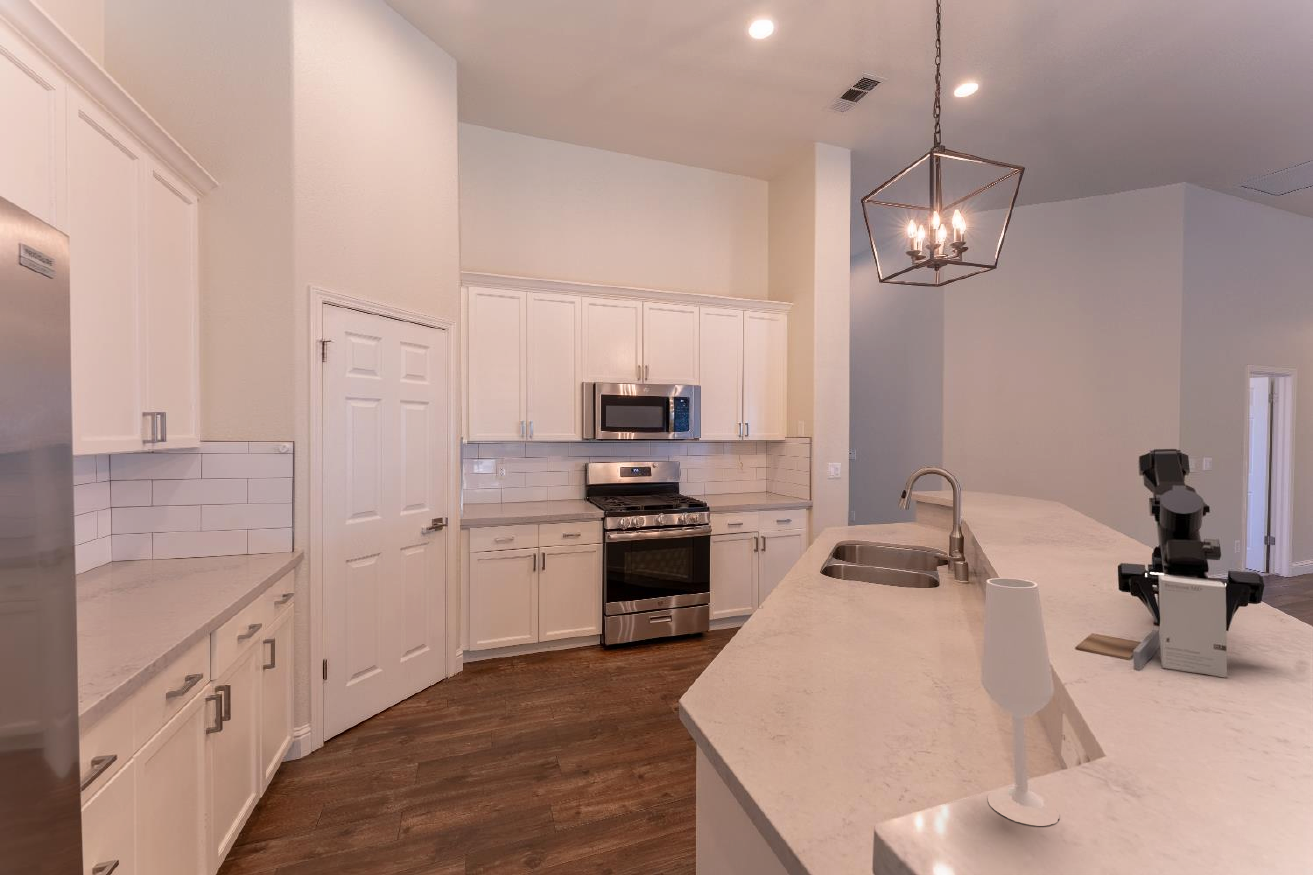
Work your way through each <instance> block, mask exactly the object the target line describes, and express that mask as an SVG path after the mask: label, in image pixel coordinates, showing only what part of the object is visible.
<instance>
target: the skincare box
mask: <svg viewBox="0 0 1313 875" xmlns="http://www.w3.org/2000/svg"><path fill="white" fill-rule="evenodd" d="M1158 577H1159V613H1160V625H1159V638H1160V647H1159V657H1160V658H1159V659H1160V662H1161V667H1162V668H1163V669H1168V670H1175V671H1181V672H1189V673H1194V674H1204V675H1209V676H1214V677H1219V678H1227V677H1228V664H1227V663H1228V661H1227V660H1228V659H1227V658H1228V656H1227V651H1228V650H1227V648H1228V646H1227V631H1226V588H1225V585H1224V584H1223V583H1222V582H1221V581H1218V580H1210V579H1201V578H1193V577H1184V576H1173V575H1158Z"/></svg>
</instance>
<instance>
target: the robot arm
mask: <svg viewBox="0 0 1313 875" xmlns="http://www.w3.org/2000/svg"><path fill="white" fill-rule="evenodd" d="M1190 469H1191V468H1190V460H1189V455H1188V454H1185V453H1183V452H1181V449H1176V448H1155V449H1153V450H1150V451H1149V452H1148V453H1146V454H1145V453H1144V454H1142V455H1139V456H1138V474H1139V475H1138V476H1142V480H1143V486H1144V487H1145V488H1146V489H1147V490H1149V491H1150V492H1151V493H1152V497H1149V498H1148V508H1149V509H1148V510H1149V516H1150V517H1154V521H1155V522H1156V528H1157V529H1156V530H1157V537H1158V540H1157V541H1158V546H1154V549H1153V552H1152V554H1151V564H1150V563H1148V564H1147V569H1146V565H1145V564H1140V563H1138V564H1137V563H1126V562H1120V564H1118V565H1117V580H1118V581H1117V582H1118V591H1120V592H1122V593H1129V594H1130V596H1132V597H1136V598H1138V600H1140V601H1141V603H1142V604H1143V605H1144V606H1145V607H1146V608H1147V610H1148V611H1149V613H1150V615H1151V617H1152V618H1153V619H1154V620H1153V621H1152V622H1153V625H1156V626H1157V625H1158V626H1160V613H1159V577H1158V575H1173V576H1184V577H1193V578H1201V579H1210V580H1218V581H1221V582H1222V583H1223V584H1224V585H1225V588H1226V632H1229V630H1230V629H1231V628H1230V627H1231V624H1232V621H1233V618H1234V616H1235V614H1236V612H1237V611H1238V610H1239V608H1241V607H1242V608H1243V607H1248V606H1249V604H1253V605H1257V604H1262V600H1263V595H1264V590H1265V582H1264V578H1263V576H1262V575H1261V574H1259V573H1258V572H1257V571H1255V572H1254V571H1242V570H1241V571H1239V570H1228V572H1227V578H1219V577H1209V576H1208V575H1207V573H1209V570H1210V569H1209V563H1208V561H1209V560H1211V561H1219V560H1220V559H1221V557H1222V551H1221V545H1220V540H1219V539H1214V538H1204V539H1203V541H1202V539H1201V532H1200V530H1201V528H1202V525H1203V524H1202V523H1203V518H1204V517H1205V516H1206V515H1207V513H1210V511H1211V510H1210V505H1208V504H1206V502H1205V501H1204V499H1203V498H1202V496H1201V495H1199V494H1198V493H1197V492H1196V489H1195V488H1194V487H1192V486H1189V485H1188V484H1186V482H1185V480H1186V476H1189V474H1190V472H1191V470H1190ZM1156 596H1157V597H1156Z"/></svg>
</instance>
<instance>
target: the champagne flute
mask: <svg viewBox="0 0 1313 875" xmlns="http://www.w3.org/2000/svg"><path fill="white" fill-rule="evenodd" d="M985 586H986V587H985V588H986V589H985V601H984V602H985V603H984V604H985V606H984V621H983V622H984V623H983V639H982V656H981V674H980V675H981V676H980V681H981V685H982V687H983V688H984V690H985V692H986V693H987V694H988V696H989V697H990V698H991V700H993V702H995V703H996V704H997V705H998V707H999V708H1001V709H1002V710H1003V711H1004V712H1005V713H1007V714H1009V715H1010V716H1011V727H1012V730H1011V731H1012V747H1013V765H1014V767H1013V768H1014V769H1013V770H1014V772H1013V773H1014V786H1012V788H1010V787H1008V788H1009V791H1006V792H1005V793H1004V794H1007V795H1010V796H1012V800H1013V801H1015V802H1016V803H1019V804H1020V805H1023V806H1027V807H1028V806H1030V807H1033V808H1042V807H1043V806H1044V803H1043V801H1044V800H1043V799H1044V798H1043V797H1041V796H1040V797H1039V795H1038V794H1037V793H1035V792H1033V791H1031V790H1029V785H1028V784H1029V781H1028V780H1029V779H1028V764H1027V763H1028V761H1027V759H1028V758H1027V744H1026V743H1027V740H1026V725H1025V724H1026V722H1025V720H1026V719H1025V718H1029V717H1031V716H1033V715H1034V714H1036V713H1037V712H1039V711H1041V710H1042V709H1044V708H1045V707H1046V706H1047V705H1048V704H1049V703H1050V701H1051V700H1052V698H1053V696H1054V694H1055V693H1054V692H1055V686H1054V682H1053V675H1052V669H1051V662H1050V655H1049V650H1048V643H1047V636H1046V631H1045V625H1044V624H1045V623H1044V618H1043V612H1042V605H1041V598H1040V597H1041V596H1040V593H1039V592H1040V591H1039V585H1038V583H1036V582H1035V581H1031V580H1026V579H1021V578H1013V577H995V578H989V579H986V585H985ZM1015 785H1017V786H1015ZM1006 790H1007V789H1006ZM1003 791H1005V790H1003ZM1042 798H1043V799H1042Z"/></svg>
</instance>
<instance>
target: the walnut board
mask: <svg viewBox="0 0 1313 875" xmlns="http://www.w3.org/2000/svg"><path fill="white" fill-rule="evenodd" d="M1141 642H1142V641H1138V640H1132V639H1127V638H1120V637H1114V636H1110V635H1103V634H1098V633H1090V634H1089V635H1088V636H1087V637H1086V638H1085V639H1083V640H1082V641H1080V643H1078V644H1077V645H1076V646H1075V647H1074V649H1075V650H1078V651H1083V652H1087V653H1088V652H1089V653H1093V654H1099V655H1103V656H1108V657H1113V658H1119V659H1123V660H1128V661H1130V660H1131V659H1133V651H1134V650H1135V648H1136V647H1137V646H1138V645H1139V644H1140V643H1141Z"/></svg>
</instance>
